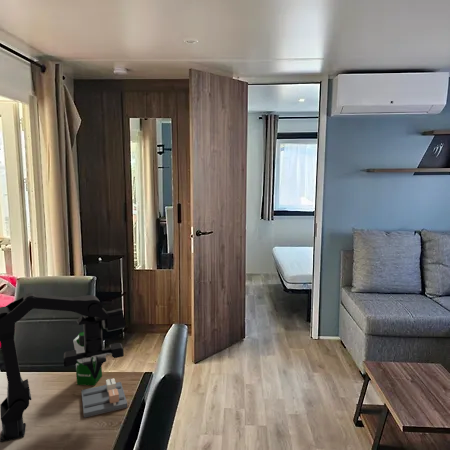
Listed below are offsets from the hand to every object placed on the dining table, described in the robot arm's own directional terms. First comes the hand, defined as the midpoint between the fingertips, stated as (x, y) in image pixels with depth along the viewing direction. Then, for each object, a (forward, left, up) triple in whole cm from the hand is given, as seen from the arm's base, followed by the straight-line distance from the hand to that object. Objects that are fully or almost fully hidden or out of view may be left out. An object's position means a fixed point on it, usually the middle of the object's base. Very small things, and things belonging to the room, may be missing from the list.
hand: (95, 378), depth 131 cm
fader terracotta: (0, -6, -9) cm, 11 cm away
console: (+4, -3, -11) cm, 12 cm away
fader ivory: (+7, -6, -9) cm, 13 cm away
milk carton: (+20, +1, -11) cm, 23 cm away
